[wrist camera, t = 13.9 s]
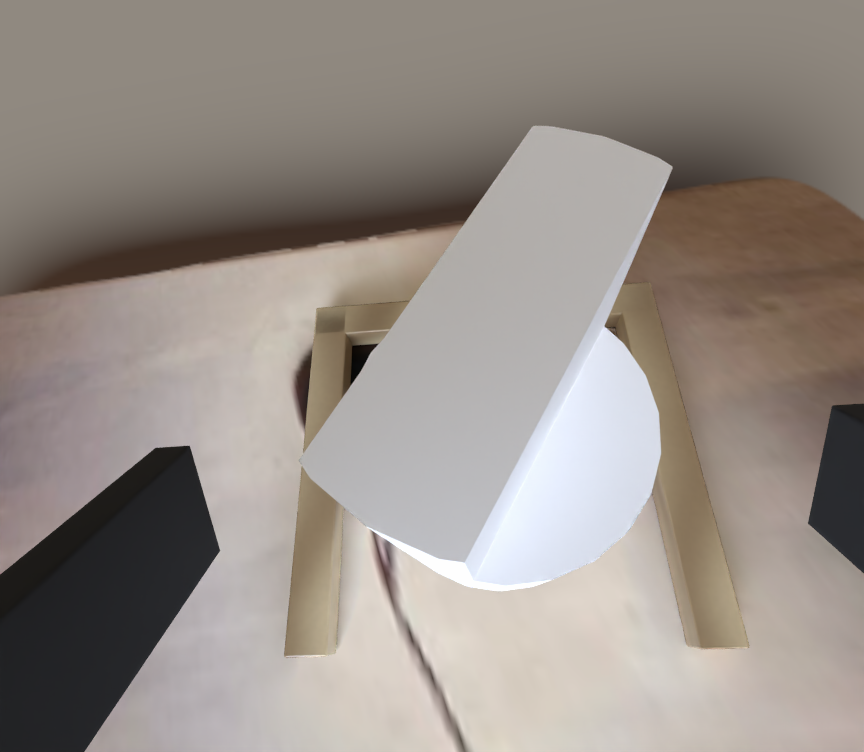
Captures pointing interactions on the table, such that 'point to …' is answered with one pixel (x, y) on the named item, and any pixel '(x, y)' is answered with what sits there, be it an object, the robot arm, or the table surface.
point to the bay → (673, 489)
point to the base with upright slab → (511, 380)
